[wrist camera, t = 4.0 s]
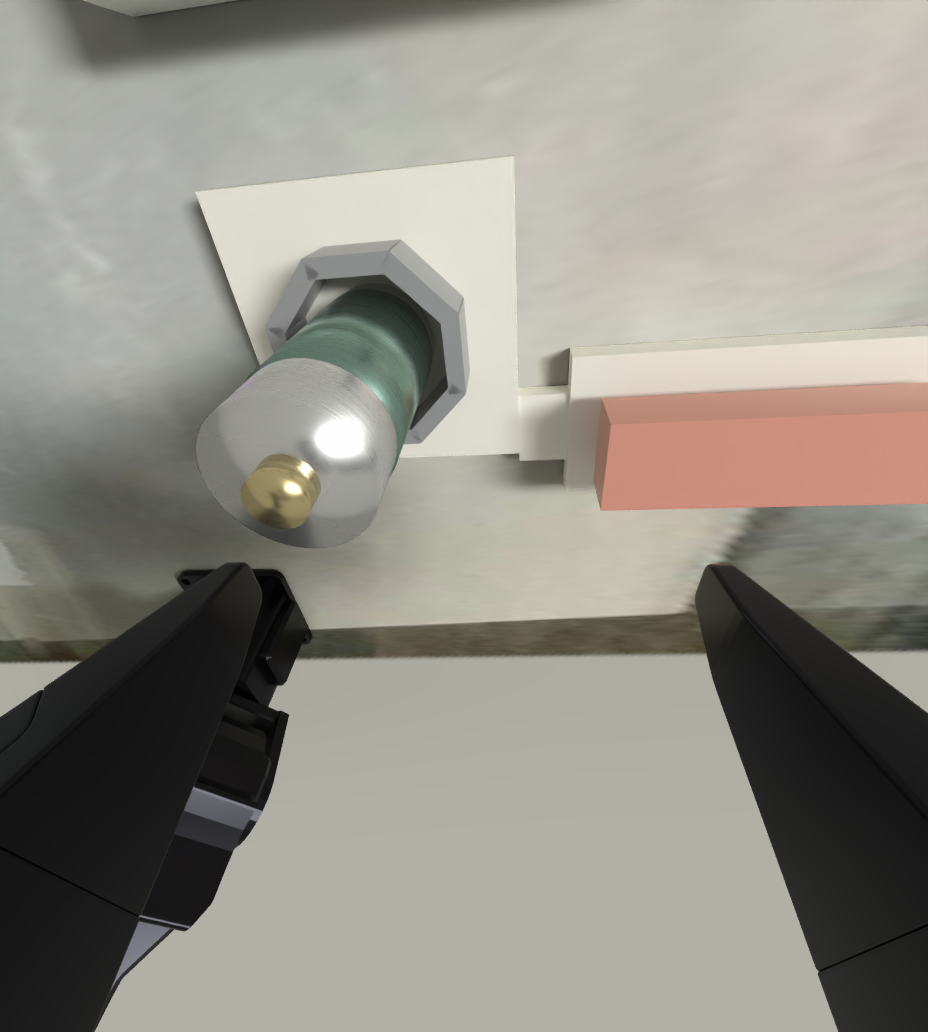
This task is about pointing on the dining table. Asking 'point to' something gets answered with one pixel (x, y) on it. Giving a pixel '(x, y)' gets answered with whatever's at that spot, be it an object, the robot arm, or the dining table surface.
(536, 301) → the dining table surface
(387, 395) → the silver cell
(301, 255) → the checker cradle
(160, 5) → the white rectangular tray
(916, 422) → the bar
